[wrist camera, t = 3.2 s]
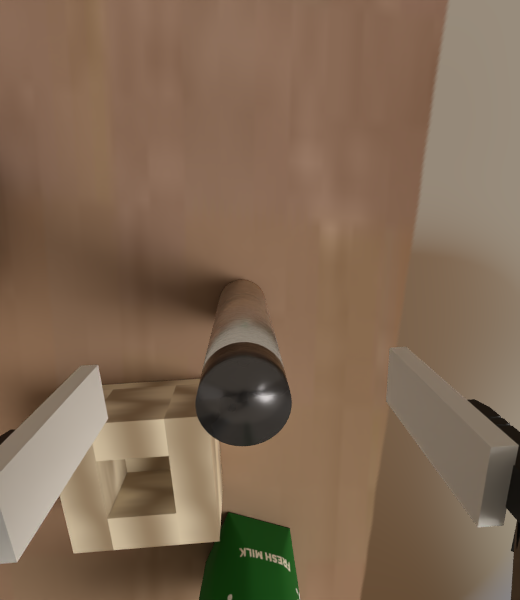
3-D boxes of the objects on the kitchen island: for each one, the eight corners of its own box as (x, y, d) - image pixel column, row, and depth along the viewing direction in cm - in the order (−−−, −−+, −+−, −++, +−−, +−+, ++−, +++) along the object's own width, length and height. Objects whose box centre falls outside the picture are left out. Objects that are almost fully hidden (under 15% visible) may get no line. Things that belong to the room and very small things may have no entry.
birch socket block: (102, 494, 34) (73, 553, 28) (80, 386, 31) (43, 427, 25) (223, 485, 34) (219, 541, 29) (213, 377, 31) (207, 416, 26)
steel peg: (221, 325, 30) (199, 449, 15) (217, 281, 29) (190, 364, 14) (266, 322, 30) (292, 442, 15) (264, 278, 29) (290, 357, 14)
